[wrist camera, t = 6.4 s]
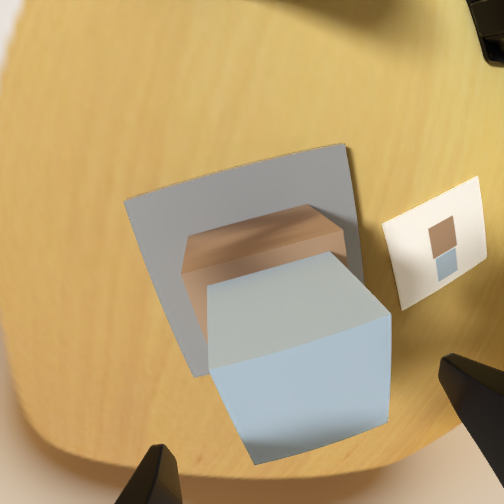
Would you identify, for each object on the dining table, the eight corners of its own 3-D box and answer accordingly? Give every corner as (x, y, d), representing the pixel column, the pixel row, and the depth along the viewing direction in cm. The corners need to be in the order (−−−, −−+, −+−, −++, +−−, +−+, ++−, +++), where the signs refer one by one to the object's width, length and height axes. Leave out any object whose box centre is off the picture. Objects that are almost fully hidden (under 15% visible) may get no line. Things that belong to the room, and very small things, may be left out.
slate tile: (339, 143, 17) (344, 143, 16) (362, 321, 21) (367, 327, 21) (127, 198, 17) (123, 201, 16) (194, 370, 21) (193, 377, 20)
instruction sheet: (476, 175, 19) (478, 176, 19) (485, 257, 21) (487, 258, 21) (381, 223, 19) (382, 224, 19) (401, 310, 21) (402, 311, 21)
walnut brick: (307, 204, 17) (342, 229, 12) (324, 306, 19) (356, 354, 15) (188, 236, 17) (180, 274, 12) (221, 335, 19) (227, 392, 15)
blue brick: (329, 250, 13) (391, 313, 8) (342, 347, 14) (387, 422, 10) (206, 285, 13) (208, 369, 8) (240, 378, 14) (254, 465, 10)
